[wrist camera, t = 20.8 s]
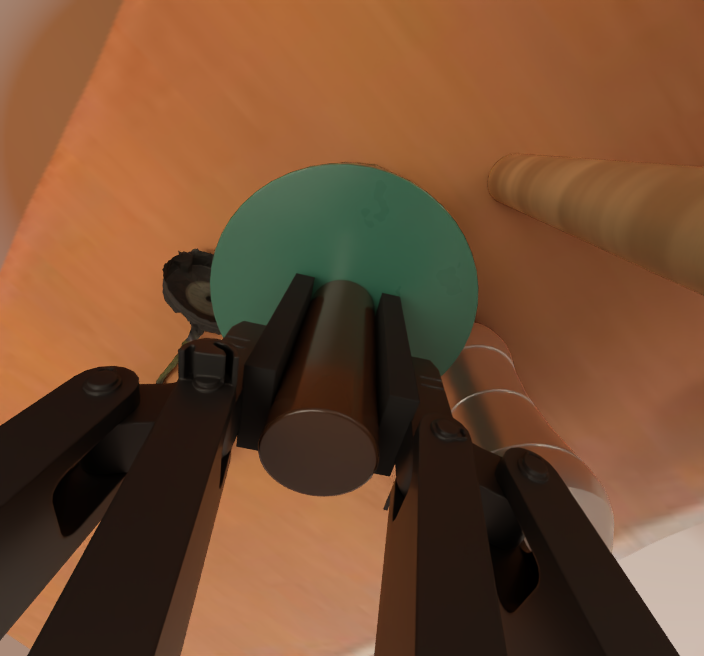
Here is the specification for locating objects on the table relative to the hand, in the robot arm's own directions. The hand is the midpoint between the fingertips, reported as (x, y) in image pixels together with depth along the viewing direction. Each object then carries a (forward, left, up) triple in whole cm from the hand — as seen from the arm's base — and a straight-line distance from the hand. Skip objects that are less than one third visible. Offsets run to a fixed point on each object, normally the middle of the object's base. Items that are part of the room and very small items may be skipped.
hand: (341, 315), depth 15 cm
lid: (0, 0, -1) cm, 1 cm away
